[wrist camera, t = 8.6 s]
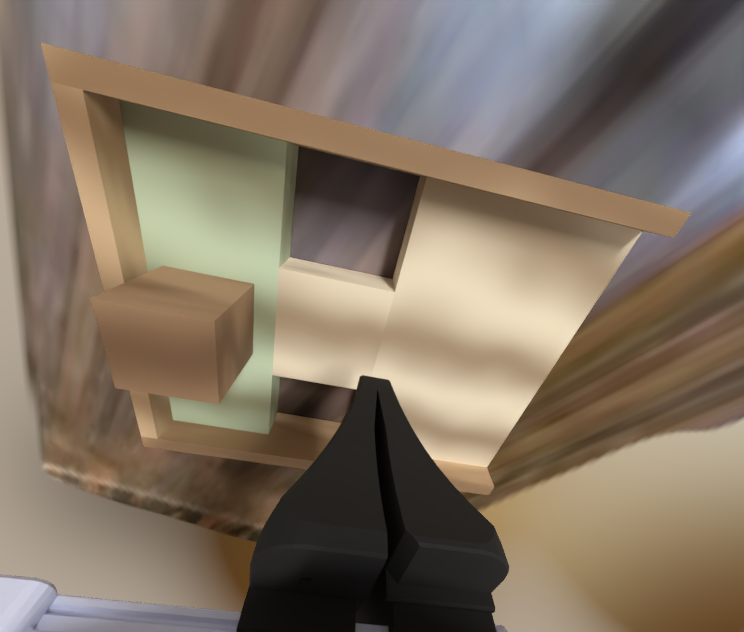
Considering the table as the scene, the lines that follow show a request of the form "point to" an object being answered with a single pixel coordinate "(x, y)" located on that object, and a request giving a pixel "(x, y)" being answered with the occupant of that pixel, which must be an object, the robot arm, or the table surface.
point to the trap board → (332, 284)
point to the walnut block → (177, 333)
